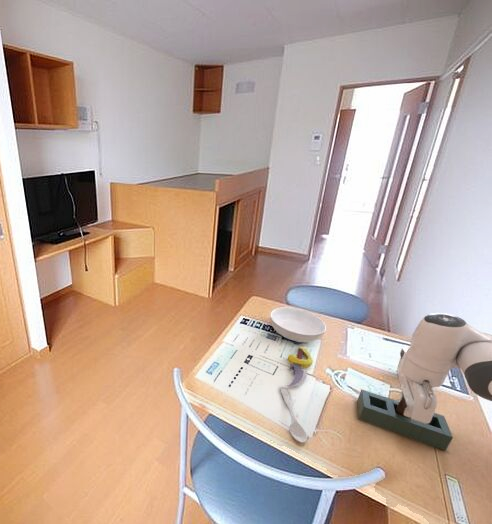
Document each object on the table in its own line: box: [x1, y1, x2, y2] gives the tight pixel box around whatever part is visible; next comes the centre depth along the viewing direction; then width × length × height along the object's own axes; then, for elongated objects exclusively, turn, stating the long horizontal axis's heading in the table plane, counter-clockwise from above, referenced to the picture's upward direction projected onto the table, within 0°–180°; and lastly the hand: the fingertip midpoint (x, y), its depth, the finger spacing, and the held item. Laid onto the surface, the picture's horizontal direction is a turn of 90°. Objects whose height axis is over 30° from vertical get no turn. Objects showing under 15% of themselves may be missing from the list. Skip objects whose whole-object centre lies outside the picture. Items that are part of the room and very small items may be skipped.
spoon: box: [280, 387, 308, 444], centre depth 90 cm, size 4×21×2 cm, turn 169°
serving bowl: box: [269, 306, 327, 343], centre depth 126 cm, size 21×21×7 cm
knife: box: [286, 345, 314, 388], centre depth 107 cm, size 8×3×25 cm
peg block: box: [356, 389, 454, 451], centre depth 87 cm, size 19×8×5 cm, turn 60°
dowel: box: [395, 394, 410, 418], centre depth 85 cm, size 3×3×10 cm
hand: (405, 408), depth 85 cm, fingers closed on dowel, 3 cm apart
